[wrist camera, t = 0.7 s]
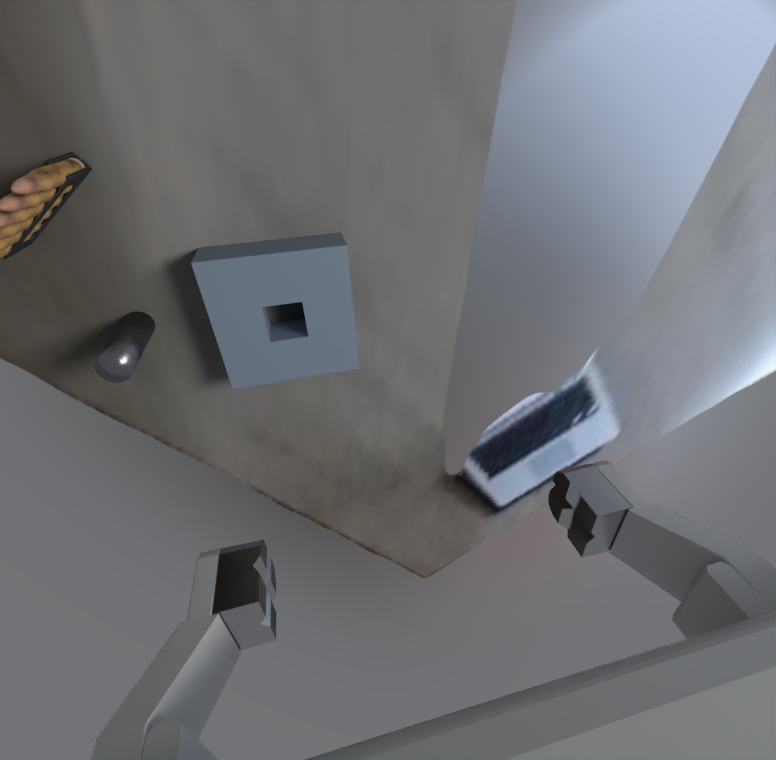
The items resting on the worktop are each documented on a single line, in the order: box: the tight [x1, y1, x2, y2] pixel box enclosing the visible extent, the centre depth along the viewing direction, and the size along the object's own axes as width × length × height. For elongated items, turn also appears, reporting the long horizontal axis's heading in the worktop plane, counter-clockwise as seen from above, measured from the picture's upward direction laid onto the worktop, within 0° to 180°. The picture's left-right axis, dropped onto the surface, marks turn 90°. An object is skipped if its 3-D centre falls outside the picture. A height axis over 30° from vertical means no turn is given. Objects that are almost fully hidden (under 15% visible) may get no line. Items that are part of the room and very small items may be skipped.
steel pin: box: [95, 312, 155, 382], centre depth 44 cm, size 3×3×10 cm
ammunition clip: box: [0, 152, 92, 259], centre depth 35 cm, size 11×2×12 cm, turn 129°
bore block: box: [191, 233, 360, 389], centre depth 49 cm, size 16×16×5 cm
